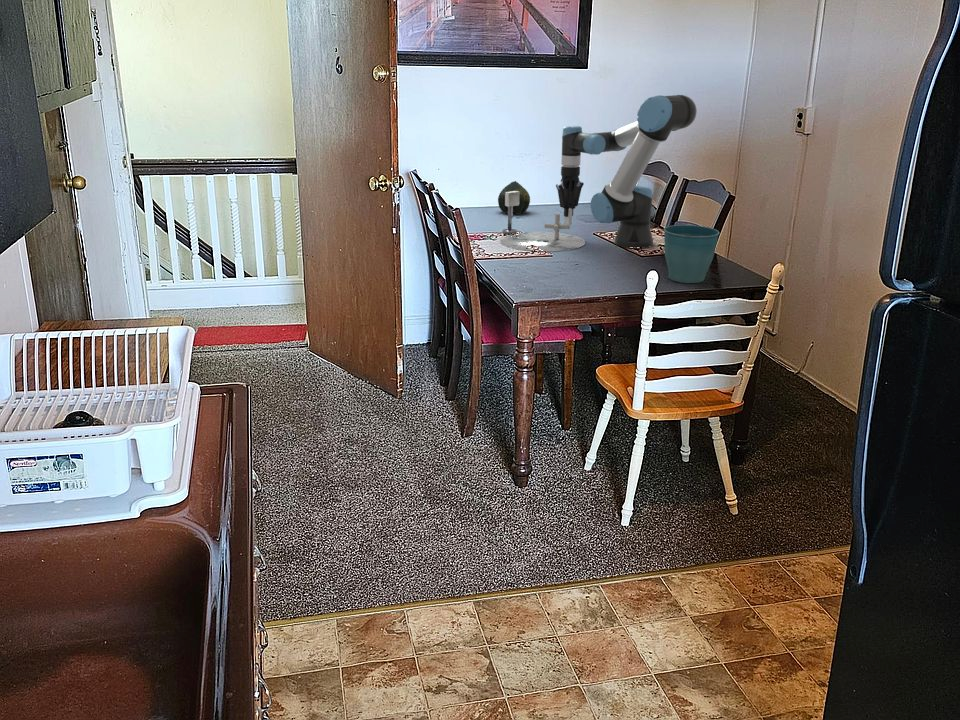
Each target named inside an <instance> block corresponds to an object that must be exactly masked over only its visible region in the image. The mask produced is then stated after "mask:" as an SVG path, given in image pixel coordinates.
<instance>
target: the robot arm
mask: <svg viewBox="0 0 960 720" xmlns="http://www.w3.org/2000/svg"><path fill="white" fill-rule="evenodd" d="M696 117H697V105H696V103H695V102H694V100H693V99H692V98H691V97H689V96H687V95H683V94H677V95H676V94H675V95H655V96H651V97H647V98H646V99H645V100H643V102H642V103H641V104H640V105H639V107H638V110H637V117H636V121H633V122H630V123H629V124H627V125H624V126H622V127H619V128H617V129H614V130H612V131H605V132H604V131H603V132H593V133H589V132H588V133H587V132H583V128H582V126H580V125H564V127H563V128H562V136H561V141H562V142H561V167H560V175H561V179H560V182H559V183H558V184H557V183H556V184H555V188H556V190H557V194H558V201H559V207H560V208H562V209H563V217H564V225H570V226H572V225H573V216H574V210H575V209H576V208H577V207H578V206H579V201H580V197H581V192H582V188H583V187H584V182H582V181H581V180H580V177H579V176H581V175H580V173H581V167H580V166H581V157H582V156H581V155H582V154H581V153H583V154H589V155H592V156H593V155H596V156H597V155H601V154H602V153H606V152H607V153H608V152H609V153H610V152H619V151H624V150H626V149H627V148H628V147H629V146H630V147H629V149H628V151H627V153H626V155H625V157H624V159H623V161H622V162H621V163H620V165H619V168H618V170H617V172H616V173H615V175H614V177H613V179H612V180H611V181H608V182H607V183H605V185H604V187H603V189H602V191H601V192H596V193H595V194H593V195H592V197H591V199H590V211H591V214H592V216H593V218H594V220H596V221H597V222H598V223H600V224H611V223H616V222H619V227H618V230H617V232H616V234H615V236H614V245H615V244H616V245H615V246H617V245H618V246H617V247H620V246H623V247H622V248H625V247H648V248H650V247H649V246H651V247H653V246H654V237H653V235H652V229H651V216H652V215H651V214H652V205H653V204H652V202H653V190H652V188H650V187H647V186H641V185H638V183H639V181H640V179H641V177H642V176H643V174H644V172H645V170H646V168H647V167H648V165H649V163H650V161H651V159H652V158H653V157H654V154H655V152H656V150H657V149H658V146H659V145H660V143H662V142H663V143H664V142H666V141H667V140H668V138H669V136H670V134H671V133H672V132H676V131H679V130H681V129H686V128H688V127H689V126H691V125H692V124H693V123H694V121H695V119H696ZM652 245H653V246H652Z"/></svg>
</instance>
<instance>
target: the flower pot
mask: <svg viewBox="0 0 960 720" xmlns="http://www.w3.org/2000/svg"><path fill="white" fill-rule="evenodd" d="M663 232H664V247H663V248H664V257H665V262H666V265H667V270H668V278H669V279H670V280H671V281H674V282H678V283H683V284H697V283H702V282H704V281H705V279H706V275H707V272H708V270H709V268H710V266H711V264H712V261H713V259H714V256H715V252H716V249H717V248H716V247H717V243H718V239H719V236H720V231H719V230H718V229H715V228H713V227H710V226H709V227H708V226H702V225H691V224H677V225H676V224H673V225H668V226H666V227H664V228H663Z"/></svg>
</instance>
